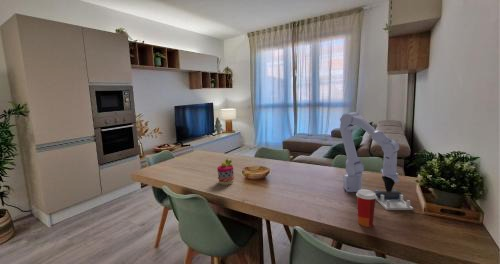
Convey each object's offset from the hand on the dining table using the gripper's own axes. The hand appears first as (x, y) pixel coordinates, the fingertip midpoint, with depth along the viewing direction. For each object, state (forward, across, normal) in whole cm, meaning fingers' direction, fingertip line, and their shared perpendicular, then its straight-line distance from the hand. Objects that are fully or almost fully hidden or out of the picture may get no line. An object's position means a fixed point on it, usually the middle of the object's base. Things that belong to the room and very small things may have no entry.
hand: (388, 190), depth 121 cm
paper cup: (+5, -22, +20) cm, 30 cm away
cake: (+5, +28, +89) cm, 93 cm away
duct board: (+5, -3, 0) cm, 6 cm away
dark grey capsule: (+4, 0, 0) cm, 4 cm away
